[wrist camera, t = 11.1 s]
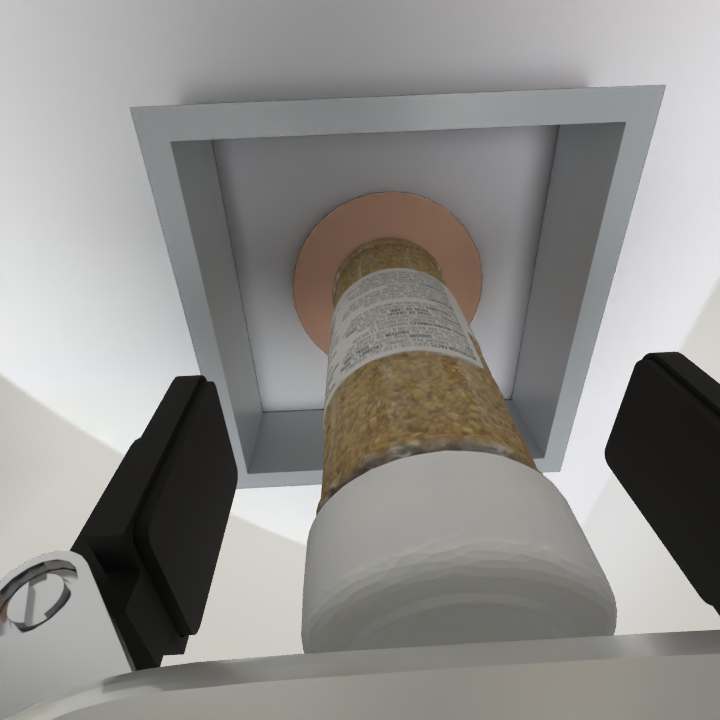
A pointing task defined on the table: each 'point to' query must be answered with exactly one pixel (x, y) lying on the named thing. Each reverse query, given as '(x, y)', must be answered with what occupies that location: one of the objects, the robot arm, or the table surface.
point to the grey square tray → (402, 221)
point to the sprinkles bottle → (432, 483)
